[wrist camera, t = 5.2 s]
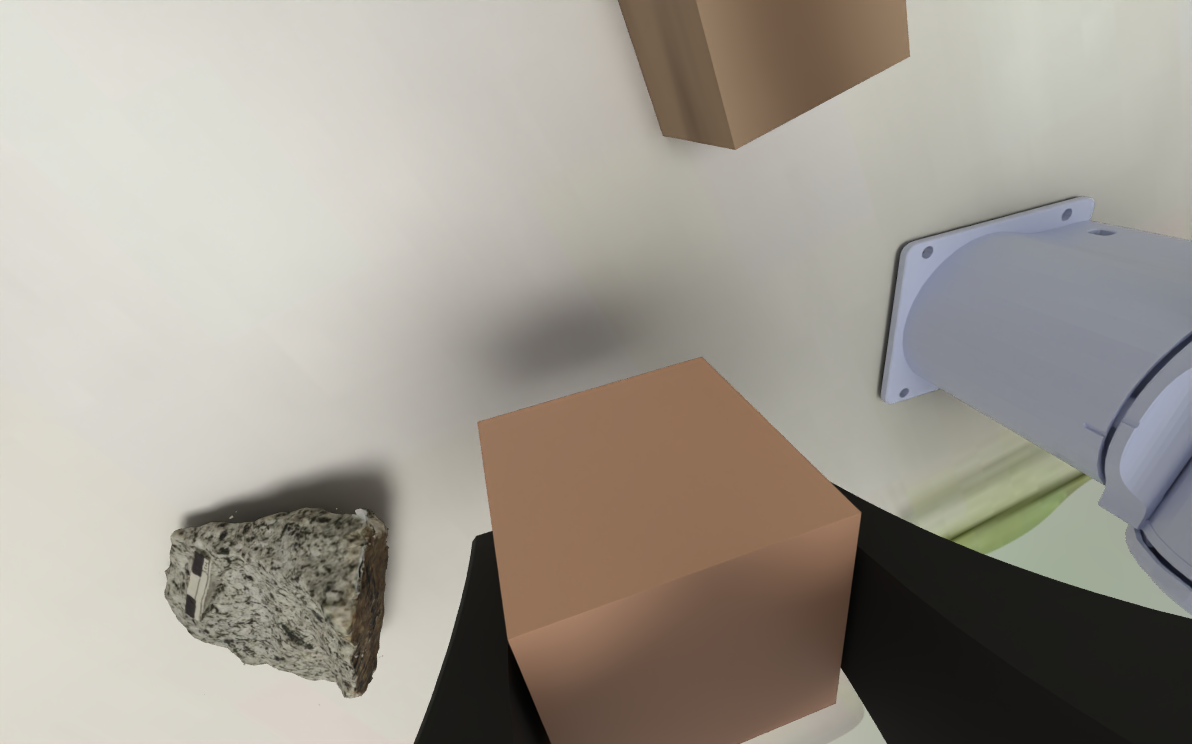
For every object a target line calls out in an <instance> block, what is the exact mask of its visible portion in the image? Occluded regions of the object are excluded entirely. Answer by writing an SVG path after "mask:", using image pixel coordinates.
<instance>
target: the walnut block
mask: <svg viewBox="0 0 1192 744" xmlns="http://www.w3.org/2000/svg"><path fill="white" fill-rule="evenodd" d="M618 2H619V5H620V8H621V11H622V14H623V17H624V20H625V23H626V26H627V29H628V32H629V35H630V38H631V41H632V44H633V47H634V50H635V53H636V56H637V59H638V62H639V65H640V68H641V71H642V74H643V77H644V80H645V83H646V86H647V89H648V92H649V95H650V98H651V101H652V104H653V107H654V110H655V113H656V116H657V119H658V122H659V125H660V128H661V131H662V134H663V136H667V137H672V138H678V139H683V140H688V141H693V142H698V143H703V144H708V145H714V146H719V147H724V148H729V149H734V150H736V149H738V148H739V147H741V146H743V145H745V144H747V143H749V142H751V141H753V140H754V139H756V138H758V137H760V136H762V135H764V134H766V133H768V132H769V131H771V130H773V129H775V128H777V127H779V126H781V125H783V124H784V123H786V122H788V121H790V120H792V119H794V118H796V117H797V116H799V115H801V114H803V113H805V112H807V111H809V110H811V109H812V108H814V107H816V106H818V105H820V104H822V103H824V102H826V101H827V100H829V99H831V98H833V97H835V96H837V95H839V94H841V93H842V92H844V91H846V90H848V89H850V88H852V87H854V86H855V85H857V84H859V83H861V82H863V81H865V80H867V79H869V78H870V77H872V76H874V75H876V74H878V73H880V72H882V71H884V70H885V69H887V68H889V67H891V66H893V65H895V64H897V63H899V62H900V61H902V60H904V59H906V58H908V57H910V50H909V37H908V24H907V11H906V0H618Z"/></svg>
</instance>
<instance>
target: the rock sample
mask: <svg viewBox="0 0 1192 744" xmlns="http://www.w3.org/2000/svg"><path fill="white" fill-rule="evenodd" d="M336 509H337V508H336ZM237 511H238V510H237ZM237 511H235V512H237ZM340 512H342V511H340ZM355 512H356V515H354V514H352V515H350V514H343V515H341V514H334V513H330V512H326V511H325V509H311V508H307V507H305V508H302V509H299V510H295V511H291V512H287V513H285V512H280V513H276V514H273V515H270V516H266V517H263V518H259V519H258V520H256V521H254V522H245V523H236V524H232V523H228V522H210V523H207V524H205V525H203V526H200V527H189V528H186V529H178V530H176V531H174V532H173V534H172V535H171V542H172V546H171V550H170V562H171V564H170V567H169V568H168V569H167V570H166V571H165V573H166V576H167V584H166V589H165V592H164V593H165V598H166V599H167V601H168V603H169V605H170V607H171V609H172V611H173V612H174V613H175V614H176V617H177V619H178V620H179V621H180V622H181V623H182V624H183V625H184V626H185V627H186V628H187V630H188V632H189V633H190V634H191V635H192V636H193V637H194V638H196V639H199V640H201V641H203V642H205V643H210V644H214V645H217V646H221V647H226V648H228V649H229V650H230V651H231V652H232V653H234V654H235V655H237V656H238V657H239V658H240V659H241V661H242V662H243V663H244V665H245V664H250V665H260V664H266V663H267V664H269V665H270V666H272V667H274V668H277V669H278V670H282V671H287V672H292V673H294V674H296V675H298V676H301V677H303V678H305V679H308V680H327V681H331V682H336V683H337V685H338V687H339V688H340V689H341V690H342V694H343V696H344V697H346V698H355V697H359V696H362V695H363V693H364V692H365V691H366V690H367V687H368V684H369V683H370V682H371V680H372V679H373V677H372V674H373V673H374V672H375V670H376V668H377V653H378V650H379V639H380V632H381V628H382V623H383V617H384V591H385V585H386V584H385V572H386V569H387V562H388V548H389V547H387V546H386V542H387V541H386V538H387V530H388V529H389V528H386V526H384V524H383V522H382V521H380V520H379V519H378V518H377V517H376V516H375V514H374V513H373V512H372V511H370V510H367V509H364V510H363V509H361V508H360V509H357V510H355ZM231 518H233V516H231V517H230V518H229V519H231ZM204 695H205V694H204Z"/></svg>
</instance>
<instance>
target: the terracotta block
mask: <svg viewBox="0 0 1192 744" xmlns="http://www.w3.org/2000/svg"><path fill="white" fill-rule="evenodd" d="M478 429H479V436H480V444H481V451H482V458H483V465H484V472H485V480H486V487H487V494H488V501H489V508H490V516H491V523H492V530H493V537H494V545H495V552H496V559H497V566H498V573H499V581H500V588H501V595H502V602H503V609H504V617H505V624H506V631H507V638H508V642H509V644H510V646H511V649H512V651H513V654H514V656H515V658H516V661H517V663H518V665H519V668H520V670H521V673H522V675H523V677H524V680H525V682H526V685H527V687H528V689H529V692H530V694H531V696H532V699H533V701H534V704H535V706H536V708H537V711H538V713H539V716H540V718H541V720H542V723H543V725H544V727H545V730H546V732H547V735H548V737H549V739H550V742H551V744H740V743H743V742H745V741H748V740H750V739H752V738H755V737H757V736H759V735H762V734H764V733H767V732H769V731H771V730H774V729H776V728H778V727H781V726H783V725H786V724H788V723H790V722H793V721H795V720H798V719H800V718H802V717H805V716H807V715H809V714H812V713H814V712H817V711H819V710H821V709H824V708H826V707H828V706H831V705H833V704H836V697H837V690H838V682H839V675H840V667H841V660H842V653H843V645H844V638H845V630H846V623H847V615H848V608H849V601H850V593H851V586H852V578H853V571H854V564H855V556H856V549H857V541H858V534H859V526H860V519H861V512H860V511H859V510H858V509H857V508H856V507H855V506H854V505H853V504H852V503H851V502H850V501H849V500H848V499H847V498H846V497H845V496H844V495H843V494H842V493H841V492H840V491H839V490H838V489H837V488H836V487H835V486H834V485H833V484H832V483H831V482H830V481H829V480H828V479H827V478H825V477H824V476H823V475H822V474H821V473H820V472H819V471H818V470H817V469H816V468H815V467H814V466H813V465H812V464H811V463H810V462H809V461H808V460H807V459H806V458H805V457H804V456H803V455H802V454H801V453H800V452H799V451H798V450H797V449H796V448H795V447H794V446H793V445H792V444H791V443H790V442H789V441H788V440H787V439H786V438H785V437H784V436H783V435H781V434H780V433H779V432H778V431H777V430H776V429H775V428H774V427H773V426H772V425H771V424H770V423H769V422H768V421H767V420H766V419H765V418H764V417H763V416H762V415H761V414H760V413H759V412H758V411H757V410H756V409H755V408H754V407H753V406H752V405H751V404H750V403H749V402H748V401H747V400H746V399H745V398H744V397H743V396H742V395H741V394H740V393H739V392H737V391H736V390H735V389H734V388H733V387H732V386H731V385H730V384H729V383H728V382H727V381H726V380H725V379H724V378H723V377H722V376H721V375H720V374H719V373H718V372H717V371H716V370H715V369H714V368H713V367H712V366H711V365H710V364H709V363H708V362H707V361H706V360H705V359H704V358H703V357H699V358H696V359H692V360H689V361H686V362H682V363H679V364H675V365H672V366H668V367H665V368H661V369H658V370H655V371H651V372H648V373H644V374H641V375H637V376H634V377H631V378H627V379H624V380H620V381H617V382H613V383H610V384H607V385H603V386H600V387H596V388H593V389H589V390H586V391H582V392H579V393H576V394H572V395H569V396H565V397H562V398H558V399H555V400H552V401H548V402H545V403H541V404H538V405H534V406H531V407H527V408H524V409H521V410H517V411H514V412H510V413H507V414H503V415H500V416H497V417H493V418H490V419H486V420H483V421H479V422H478Z"/></svg>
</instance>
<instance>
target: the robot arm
mask: <svg viewBox="0 0 1192 744" xmlns="http://www.w3.org/2000/svg"><path fill="white" fill-rule="evenodd" d="M1094 205H1095V202H1094V199H1093V198H1091V197H1085V196H1081V197H1077V198H1073V199H1069V200H1066V201H1062V202H1058V203H1054V204H1051V205H1047V206H1043V207H1039V208H1036V209H1032V210H1028V211H1024V212H1021V213H1017V214H1013V215H1010V216H1006V217H1002V218H998V219H995V220H991V221H987V222H983V223H980V224H976V225H972V226H968V227H965V228H961V229H957V230H953V231H950V232H946V233H942V234H938V235H935V236H931V237H927V238H923V239H920V240H916V241H912V242H910V243H908V244H907V245H906V246H905V247H904V248H903V250H902V252H901V255H900V261H899V268H898V276H897V283H896V290H895V297H894V304H893V311H892V318H891V325H890V333H889V340H888V347H887V354H886V361H885V368H884V375H883V382H882V389H881V399H882V400H883V401H884V402H886V403H888V404H894V403H897V402H900V401H903V400H906V399H909V398H913V397H916V396H919V395H922V394H925V393H928V392H931V391H935V390H938V389H942V390H944V391H946V392H947V393H949V394H951V395H952V396H954V397H956V398H958V399H959V400H961V401H963V402H964V403H966V404H968V405H969V406H971V407H973V408H974V409H976V410H978V411H980V412H981V413H983V414H985V415H986V416H988V417H990V418H991V419H993V420H995V421H996V422H998V423H1000V424H1002V425H1003V426H1005V427H1007V428H1008V429H1010V430H1012V431H1013V432H1015V433H1017V434H1018V435H1020V436H1022V437H1024V438H1025V439H1027V440H1029V441H1030V442H1032V443H1034V444H1035V445H1037V446H1039V447H1040V448H1042V449H1044V450H1046V451H1047V452H1049V453H1051V454H1052V455H1054V456H1056V457H1057V458H1059V459H1061V460H1062V461H1064V462H1066V463H1068V464H1069V465H1071V466H1073V467H1074V468H1076V469H1078V470H1079V471H1081V472H1083V473H1084V474H1086V475H1088V476H1090V477H1091V478H1093V479H1095V480H1096V481H1098V482H1100V483H1101V484H1103V485H1105V490H1104V492H1103V494H1102V496H1101V498H1100V500H1099V502H1098V505H1099V506H1101V507H1102V508H1104V509H1106V510H1107V511H1109V512H1110V513H1112V514H1114V515H1115V516H1117V517H1118V518H1120V519H1122V520H1123V521H1125V522H1126V523H1128V527H1127V529H1126V532H1125V535H1126V543H1127V545H1128V548H1129V550H1130V552H1131V554H1132V555H1133V557H1134V558H1135V560H1136V561H1137V563H1138V564H1139V565H1140V567H1141V568H1142V569H1143V570H1144V571H1145V572H1146V573H1147V574H1148V576H1150V578H1151V579H1152V580H1153V581H1154V583H1156V585H1157V586H1158V587H1159V588H1160V589H1161V590H1162V591H1163V592H1164V593H1165V594H1166V595H1167V596H1168V597H1170V598H1171V599H1172V600H1173V601H1174V602H1175V603H1177V604H1178V605H1179V606H1180V607H1182V608H1183V609H1184V610H1185V611H1187V612H1188V613H1190V614H1191V615H1192V241H1191V240H1186V239H1180V238H1175V237H1170V236H1165V235H1160V234H1155V233H1150V232H1145V231H1140V230H1135V229H1130V228H1125V227H1120V226H1115V225H1110V224H1105V223H1100V222H1095V221H1090V219H1091V215H1092V212H1093V209H1094ZM925 248H926V249H925ZM924 249H925V251H924V253H923V250H924ZM922 253H923V254H922ZM831 483H832V482H831ZM832 484H833V483H832ZM833 485H834V486H835V487H836V488H837V489H838V490H839V491H840V492H841V493H842V494H843V495H844V496H845V497H846V498H847V499H848V500H849V501H850V502H851V503H852V504H853V505H854V506H855V507H856V508H857V509H858V510H859V511H860V512H861V519H860V526H859V534H858V541H857V549H856V556H855V564H854V571H853V578H852V586H851V593H850V601H849V608H848V615H847V623H846V630H845V638H844V645H843V653H842V660H841V669H842V670H843V672H844V673H845V675H846V676H847V678H848V679H849V681H850V683H851V684H852V686H853V688H854V689H855V691H856V693H857V694H858V696H859V697H860V699H861V701H862V702H863V704H864V706H865V707H866V709H867V711H868V712H869V714H870V716H871V717H872V719H873V720H874V722H875V724H876V725H877V727H878V729H879V731H880V732H881V734H882V736H883V738H884V739H885V741H886V743H887V744H1192V619H1190V618H1186V617H1182V616H1178V615H1174V614H1170V613H1166V612H1161V611H1157V610H1154V609H1150V608H1147V607H1143V606H1140V605H1136V604H1133V603H1129V602H1126V601H1122V600H1119V599H1115V598H1112V597H1108V596H1105V595H1102V594H1098V593H1094V592H1092V591H1088V590H1085V589H1082V588H1079V587H1075V586H1072V585H1069V584H1066V583H1063V582H1060V581H1057V580H1054V579H1051V578H1048V577H1045V576H1042V575H1039V574H1037V573H1034V572H1031V571H1028V570H1025V569H1022V568H1019V567H1016V566H1014V565H1011V564H1008V563H1005V562H1003V561H1000V560H997V559H994V558H992V557H989V556H987V555H984V554H981V553H979V552H977V551H974V550H972V549H969V548H967V547H964V546H962V545H960V544H957V543H955V542H952V541H950V540H947V539H945V538H943V537H940V536H938V535H936V534H933V533H931V532H929V531H927V530H924V529H922V528H920V527H918V526H916V525H914V524H912V523H909V522H907V521H905V520H903V519H901V518H899V517H897V516H895V515H893V514H891V513H889V512H887V511H885V510H883V509H881V508H879V507H877V506H875V505H873V504H871V503H869V502H867V501H865V500H863V499H861V498H859V497H857V496H855V495H854V494H852V493H850V492H848V491H846V490H844V489H842V488H841V487H839V486H837V485H835V484H833ZM414 744H551V742H550V739H549V737H548V735H547V732H546V730H545V727H544V725H543V723H542V720H541V718H540V716H539V713H538V711H537V708H536V706H535V704H534V701H533V699H532V696H531V694H530V692H529V689H528V687H527V685H526V682H525V680H524V677H523V675H522V673H521V670H520V668H519V665H518V663H517V661H516V658H515V656H514V654H513V651H512V649H511V646H510V644H509V642H508V638H507V631H506V624H505V617H504V609H503V602H502V595H501V588H500V581H499V573H498V566H497V559H496V552H495V545H494V537H493V531H491V532H488V533H484V534H481V535H478V536H476V537H475V539H474V540H473V542H472V549H471V556H470V561H469V567H468V572H467V577H466V581H465V586H464V590H463V594H462V599H461V603H460V606H459V610H458V614H457V617H456V621H455V625H454V628H453V632H452V636H451V639H450V642H449V646H448V649H447V652H446V655H445V658H444V661H443V664H442V667H441V670H440V673H439V676H438V679H437V682H436V685H435V688H434V691H433V694H432V697H431V700H430V703H429V705H428V708H427V711H426V713H425V716H424V719H423V721H422V724H421V726H420V729H419V732H418V734H417V737H416V739H415V742H414Z"/></svg>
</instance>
